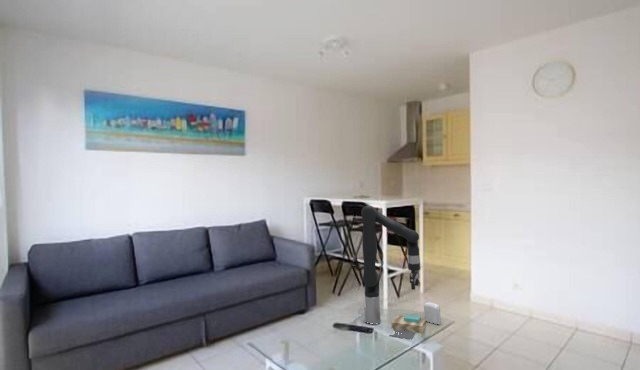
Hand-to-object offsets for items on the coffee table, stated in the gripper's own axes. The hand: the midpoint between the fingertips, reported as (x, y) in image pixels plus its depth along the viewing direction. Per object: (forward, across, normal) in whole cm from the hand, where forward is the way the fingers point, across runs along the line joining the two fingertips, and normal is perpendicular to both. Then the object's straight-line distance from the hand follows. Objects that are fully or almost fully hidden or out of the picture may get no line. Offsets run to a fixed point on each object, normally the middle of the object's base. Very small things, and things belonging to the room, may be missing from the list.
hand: (414, 287), depth 224 cm
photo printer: (+22, -3, +10) cm, 24 cm away
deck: (+22, +9, -2) cm, 24 cm away
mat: (+22, +21, -3) cm, 31 cm away
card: (+18, +8, 0) cm, 20 cm away
